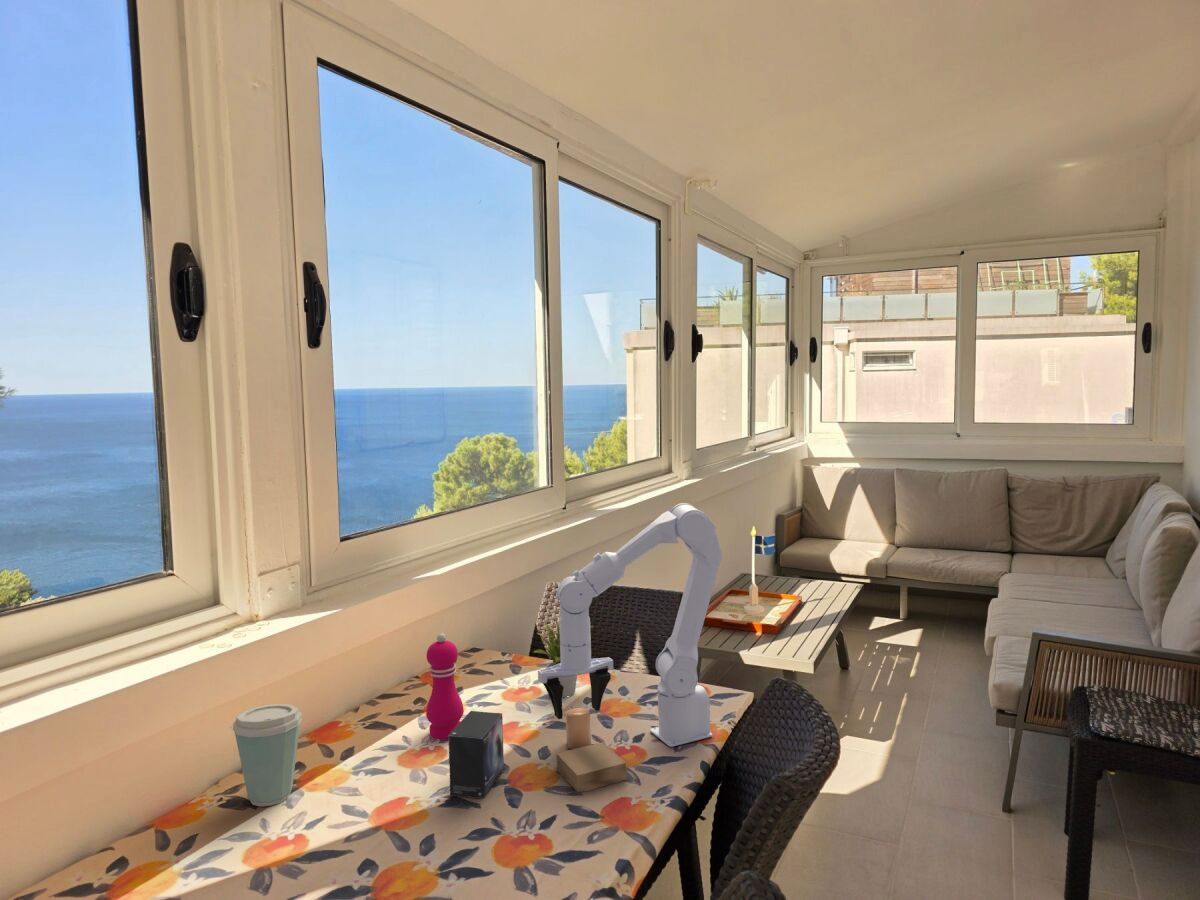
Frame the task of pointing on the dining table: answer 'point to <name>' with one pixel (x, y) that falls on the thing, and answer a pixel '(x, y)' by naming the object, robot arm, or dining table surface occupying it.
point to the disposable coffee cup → (268, 751)
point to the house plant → (557, 659)
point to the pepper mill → (443, 689)
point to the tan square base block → (591, 767)
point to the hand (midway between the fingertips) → (577, 712)
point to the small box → (476, 754)
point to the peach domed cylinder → (578, 728)
